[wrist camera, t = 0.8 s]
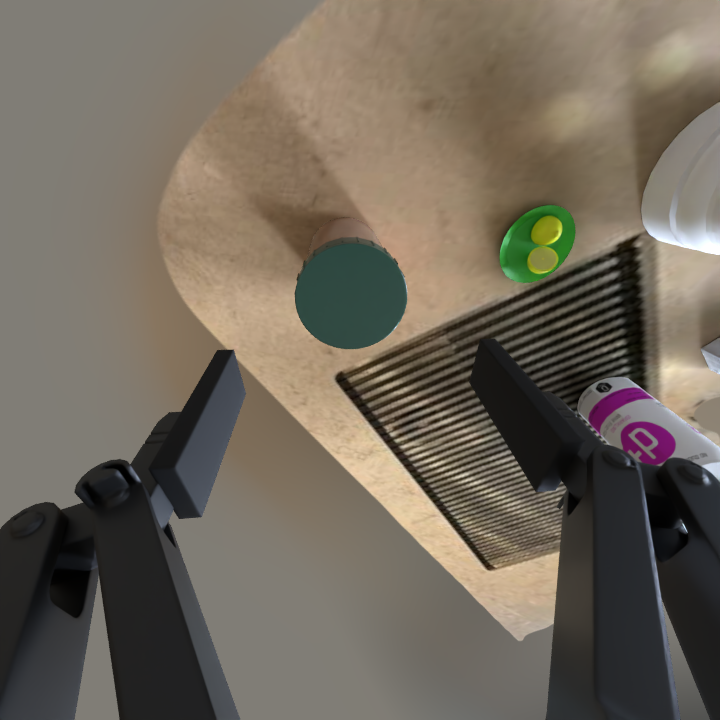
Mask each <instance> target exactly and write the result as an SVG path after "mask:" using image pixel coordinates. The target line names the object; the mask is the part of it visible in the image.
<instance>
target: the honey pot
mask: <svg viewBox="0 0 720 720" xmlns="http://www.w3.org/2000/svg"><path fill="white" fill-rule="evenodd" d="M641 214H642V221H643V225H644V227H645V228H646V230H647V232H648V233H649V235H651V236H653V237H654V238H656V239H657V240H659V241H662V242H666V243H670V244H674V245H678V246H682V247H686V248H691V249H694V250H699V251H702V252H706V253H711V254H720V102H718V103H717V104H715V105H714V106H712V107H711V108H709V109H708V110H706V111H705V112H703V113H701V114H700V115H698V116H697V117H696V118H695V119H694V120H693V121H692V122H691V123H690V124H689V125H687V126H686V127H685V128H684V129H683V130H682V131H681V132H680V133H679V134H678V135H677V136H676V138H675V139H674V140H673V141H672V142H671V144H670V145H669V146H668V147H667V149H666V150H665V151H664V152H663V154H662V155H661V157H660V159H659V160H658V162H657V164H656V166H655V167H654V169H653V171H652V172H651V174H650V177H649V180H648V182H647V185H646V188H645V190H644V193H643V199H642V206H641Z"/></svg>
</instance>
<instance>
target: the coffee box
mask: <svg viewBox="0 0 720 720" xmlns="http://www.w3.org/2000/svg"><path fill="white" fill-rule="evenodd" d="M701 351H702V353H703V356H704V358H705V360H706V362H707V365H708V367H709V369H710V370H712V371H714V372H716V373H718V374H720V337H719V338H718V339H716V340H714V341H713V342H711V343H709V344H708V345H706V346H704V347H702V348H701Z"/></svg>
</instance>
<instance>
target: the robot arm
mask: <svg viewBox="0 0 720 720" xmlns="http://www.w3.org/2000/svg"><path fill="white" fill-rule="evenodd" d="M469 383H470V384H471V386H472V388H473V389H474V391H475V393H476V394H477V396H478V398H479V399H480V401H481V402H482V404H483V406H484V407H485V409H486V411H487V412H488V414H489V416H490V417H491V419H492V421H493V422H494V424H495V426H496V427H497V429H498V431H499V432H500V434H501V435H502V437H503V439H504V440H505V442H506V444H507V445H508V447H509V449H510V450H511V452H512V454H513V455H514V457H515V459H516V460H517V462H518V463H519V465H520V467H521V468H522V470H523V472H524V473H525V475H526V477H527V478H528V480H529V482H530V483H531V485H532V487H533V488H534V490H535V492H541V491H554V490H556V488H557V487H558V485H559V483H560V482H561V480H562V482H563V483H564V485H565V486H566V487H567V491H566V492H565V494H564V495H563V497H562V498H561V500H560V502H559V503H558V505H557V508H559V509H560V508H561V507H562V505H563V504H564V505H563V517H562V530H561V542H560V555H559V567H558V580H557V592H556V604H555V617H554V630H553V642H552V654H551V655H552V656H551V667H550V679H549V692H548V704H547V714H546V720H681V719H680V713H679V706H678V700H677V694H676V687H675V681H674V675H673V668H672V662H671V656H670V649H669V643H668V637H667V631H666V624H665V617H664V611H663V605H662V601H663V603H664V606H665V608H666V611H667V613H668V616H669V618H670V621H671V623H672V625H673V628H674V631H675V633H676V636H677V638H678V641H679V643H680V646H681V648H682V650H683V653H684V655H685V658H686V661H687V663H688V665H689V668H690V670H691V673H692V675H693V678H694V680H695V683H696V685H697V688H698V690H699V693H700V695H701V698H702V700H703V703H704V705H705V708H706V710H707V713H708V715H709V717H710V720H720V482H719V480H718V479H717V478H716V477H715V476H714V475H713V474H712V473H711V472H709V471H708V470H707V469H705V468H704V467H702V466H700V465H699V464H696V463H694V462H692V461H690V460H686V459H683V458H676V457H672V458H669V459H667V460H666V461H665V462H664V463H663V465H662V466H658V465H652V464H647V463H642V462H637V461H636V460H635V459H634V458H633V457H632V456H631V455H630V454H628V453H627V452H625V451H624V450H621V449H619V448H617V447H614V446H610V445H604V444H603V443H602V442H601V440H600V439H599V438H598V437H597V436H596V435H595V434H594V433H593V432H592V431H591V430H590V429H589V428H588V427H587V426H586V425H585V423H584V422H583V421H582V420H581V419H580V418H579V417H577V415H576V414H575V413H574V412H573V411H572V410H570V408H569V406H568V405H567V404H566V403H565V402H564V401H563V400H562V399H561V398H559V397H558V396H556V395H554V394H553V393H551V392H550V391H545V392H542V391H541V390H540V389H539V388H538V387H537V385H536V384H535V383H534V382H533V381H532V380H531V379H530V378H529V376H528V375H527V374H526V373H525V372H524V371H523V370H522V369H521V367H520V366H519V365H518V364H517V363H516V362H515V361H514V360H513V358H512V357H511V356H510V355H509V354H508V353H507V352H506V351H505V349H504V348H503V347H502V346H501V345H500V344H499V343H498V342H497V340H496V339H480V342H479V346H478V350H477V354H476V358H475V362H474V366H473V370H472V374H471V377H470V381H469ZM245 395H246V392H245V389H244V385H243V381H242V378H241V374H240V371H239V367H238V363H237V360H236V356H235V352H234V350H217V352H216V353H215V355H214V357H213V359H212V360H211V362H210V364H209V366H208V367H207V369H206V370H205V372H204V374H203V376H202V377H201V379H200V381H199V383H198V384H197V386H196V388H195V390H194V391H193V393H192V394H191V396H190V398H189V400H188V401H187V403H186V405H185V406H184V408H183V410H182V412H171V413H170V412H169V413H168V414H167V415H166V416H165V417H163V418H162V419H161V420H160V421H159V422H158V423H157V424H156V426H155V427H154V429H153V430H152V432H151V435H149V437H148V438H147V440H146V441H145V444H143V446H142V447H141V449H140V450H139V452H138V454H137V455H136V457H135V458H134V460H133V461H132V463H131V464H129V463H128V462H127V461H125V460H121V459H118V460H110V461H107V462H105V463H102V464H100V465H98V466H96V467H94V468H93V469H91V470H90V471H88V472H87V473H86V474H85V475H84V476H83V477H82V478H81V479H80V481H79V482H78V483H77V485H76V489H75V493H76V495H77V496H78V497H79V498H80V499H81V500H82V501H83V502H84V503H81V504H77V505H75V506H72V507H68V508H65V509H62V510H60V509H59V508H58V507H57V506H56V505H55V504H54V503H49V502H44V503H40V504H35V505H33V506H31V507H29V508H26V509H24V510H22V511H21V512H20V513H18V514H16V515H15V516H13V517H12V518H11V519H10V520H9V521H7V522H6V523H5V524H4V525H3V526H2V527H1V529H0V720H74V719H75V713H76V707H77V701H78V695H79V689H80V683H81V677H82V671H83V665H84V659H85V654H86V647H87V642H88V635H89V630H90V624H91V618H92V612H93V606H94V600H95V594H96V588H97V582H98V576H99V578H100V585H101V592H102V598H103V606H104V613H105V620H106V626H107V634H108V641H109V648H110V655H111V662H112V669H113V675H114V682H115V690H116V697H117V703H118V711H119V717H120V720H240V717H239V715H238V712H237V709H236V706H235V703H234V701H233V698H232V695H231V693H230V689H229V687H228V684H227V681H226V678H225V676H224V673H223V670H222V667H221V664H220V662H219V659H218V656H217V653H216V650H215V648H214V645H213V642H212V639H211V636H210V633H209V631H208V628H207V625H206V623H205V620H204V617H203V614H202V612H201V608H200V605H199V603H198V600H197V597H196V594H195V592H194V589H193V586H192V583H191V580H190V578H189V575H188V572H187V569H186V566H185V563H184V561H183V558H182V555H181V552H180V549H179V547H178V544H177V541H176V538H175V535H174V533H173V530H172V527H171V525H170V524H169V522H168V521H169V519H170V516H171V514H172V512H173V510H174V512H175V513H176V515H177V516H178V518H179V519H184V518H196V517H202V515H203V512H204V509H205V507H206V504H207V501H208V498H209V496H210V493H211V490H212V487H213V484H214V482H215V478H216V476H217V473H218V470H219V467H220V465H221V462H222V459H223V456H224V453H225V451H226V448H227V445H228V442H229V440H230V437H231V434H232V431H233V428H234V426H235V423H236V420H237V417H238V414H239V412H240V409H241V406H242V403H243V400H244V398H245ZM682 524H684V525H685V527H686V529H687V532H688V533H687V532H686V530H685V529H684V527H683V525H682Z"/></svg>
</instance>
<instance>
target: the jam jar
mask: <svg viewBox="0 0 720 720" xmlns="http://www.w3.org/2000/svg"><path fill="white" fill-rule="evenodd" d="M357 236H358V238H362V239H366V240H369V241H371V240H372V241H373V242H374V243H376V244H378V245H379V246H381V247H382V245H381V243H380V241H379V239H378V238H377V236H376V234H375V233H374V231H373V230H372V229H371V228H370V227H369V226H368V225H367V224H365V223H364V222H362V221H360V220H357V219H355V218H350V217H341V218H336V219H333V220H330V221H328V222H327V223H325V224H324V225H322V226H321V227H320V228H319V229H318V230H317V232H316V233H315V235H314V237H313V238H312V241H311V244H310V249H309V253H308V257H309V256H310V255H311V254H312V253H313V251H314V249H315V250H316V249H317V248H319V247H320V246H322V245H323V244H325V243H326V242H327V241H328V242H329V241H332V240H335V239H339V238H341V237H343V238H345V237H357ZM382 248H383V247H382ZM308 257H307V258H308Z"/></svg>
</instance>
